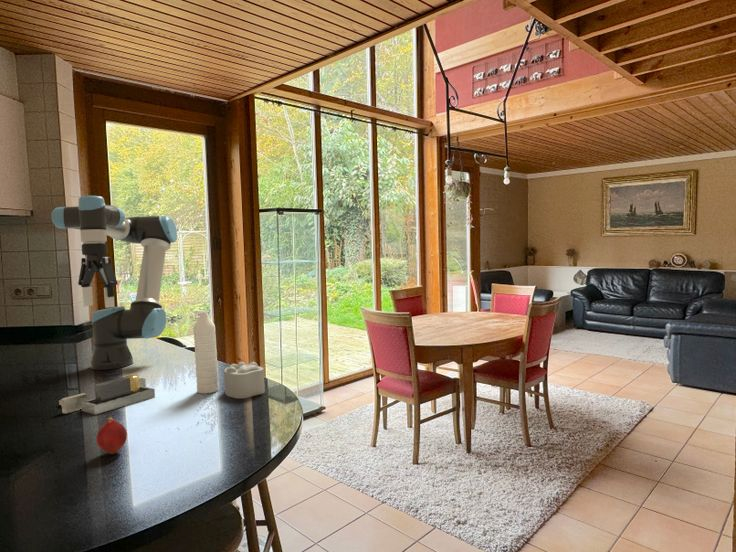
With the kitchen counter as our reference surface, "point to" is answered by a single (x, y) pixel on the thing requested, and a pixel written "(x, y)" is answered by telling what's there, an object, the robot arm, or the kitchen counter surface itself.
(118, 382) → the lock bar
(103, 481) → the kitchen counter surface
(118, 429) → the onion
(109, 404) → the door board
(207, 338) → the water bottle
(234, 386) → the lumpy-topped squat cylinder
